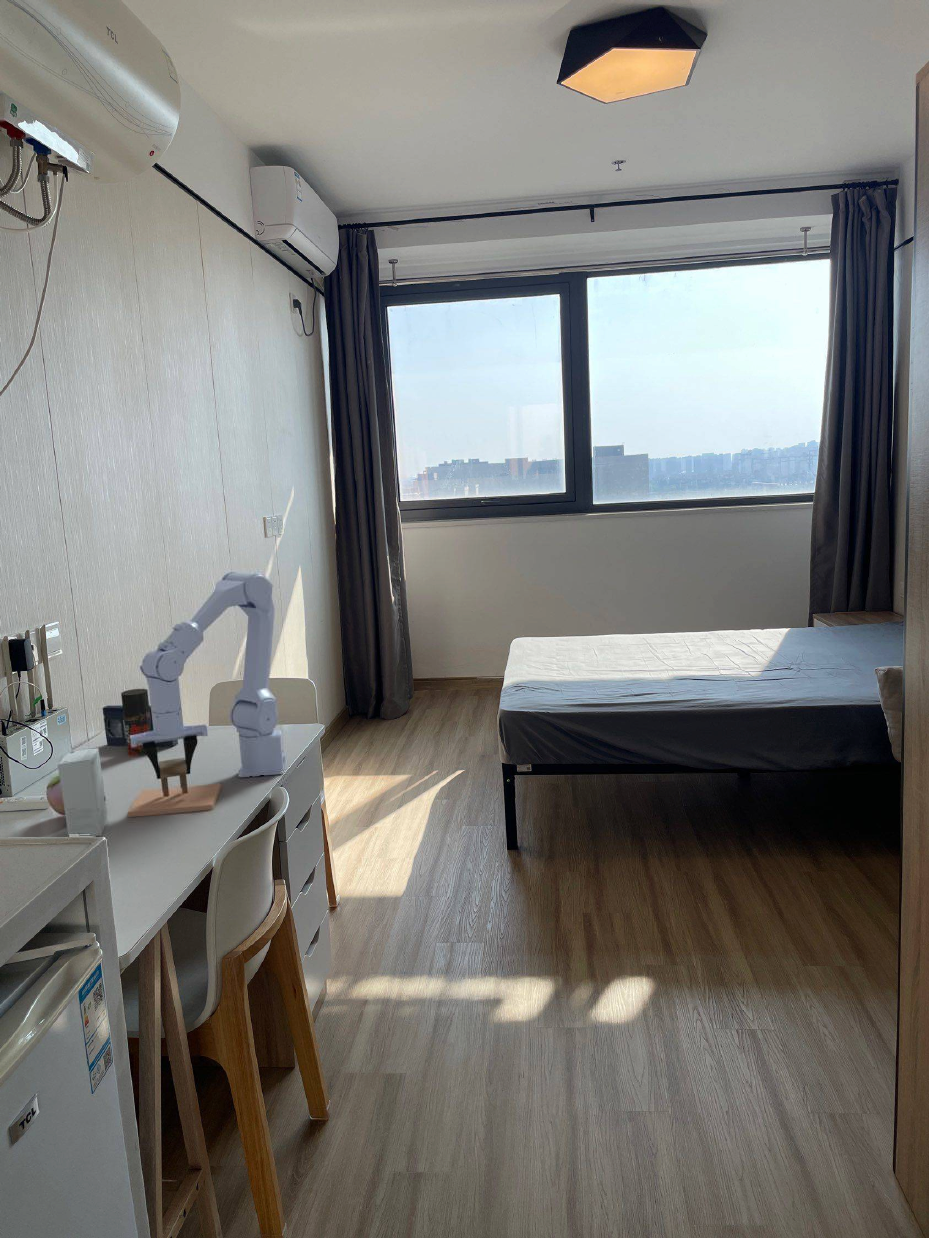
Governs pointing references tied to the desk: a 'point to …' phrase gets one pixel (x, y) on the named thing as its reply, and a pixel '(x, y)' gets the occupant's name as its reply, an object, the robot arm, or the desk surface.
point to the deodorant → (136, 717)
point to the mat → (175, 800)
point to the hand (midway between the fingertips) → (173, 775)
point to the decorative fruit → (55, 795)
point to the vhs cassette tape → (123, 727)
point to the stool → (173, 773)
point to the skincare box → (83, 792)
